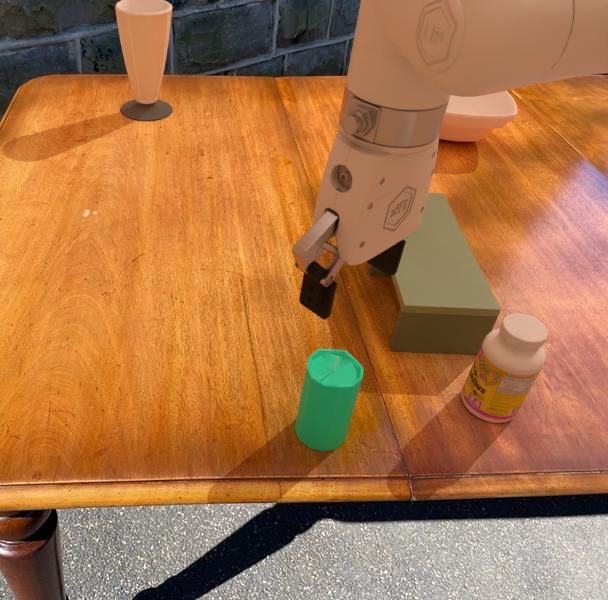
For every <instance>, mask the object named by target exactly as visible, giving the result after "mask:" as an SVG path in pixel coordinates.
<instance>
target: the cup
mask: <svg viewBox="0 0 608 600" xmlns="http://www.w3.org/2000/svg"><path fill="white" fill-rule="evenodd" d="M114 10H115V17H116V23H117V29H118V36H119V40H120V41H119V42H120V46H121V51H122V56H123V60H124V65H125V70H126V72H127V77H128V80H129V85H130V87H131V90H132V93H133V97H134V99H132V100H128V101H126V102H125V103H124V104H122V105H120V106H121V107H120V112H121V113H122V115H123V116H124V117H127V118H129V119H131V120H134V121H142V122H153V121H159V120H163V119H165V118H167V117H169V116H170V115H171V114H172V113H173V106H172V105H171V104H170V103H169V102H168V101H167V102H166V101H164V100H161V99H158V97H159V95H160V94H159V93H160V90H161V86H162V83H163V77H164V72H165V69H166V63H167V62H166V61H167V55H168V48H169V43H170V33H171V25H172V14H173V5H172V4H171V3H170V2H169V1H167V0H120V1H117V2H116V4H115V7H114Z"/></svg>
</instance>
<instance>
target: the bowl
mask: <svg viewBox="0 0 608 600" xmlns="http://www.w3.org/2000/svg"><path fill="white" fill-rule="evenodd" d="M518 112H519V109H518V106H517V102H516V101H515V98H514V97H513V96H512V95H511V93H510V91H502V92H497V93H493V94H488V95H482V96H475V97H460V96H454V95H451V96H450V99H449V103H448V106H447V109H446V113H445V116H444V119H443V123H442V126H441V129H440V133H439V140H444V141H452V142H466V143H467V142H480V141H481V140H482V139H483V138H484V137H486V136H487V135H488V134H489V133H490V132H492V131H493V130H494V129H495V130H496V129H502V128H504V127H505V126H507V124H509V123H510V122H511V121H513V120H514V119H515V118H516V117H517V115H518Z"/></svg>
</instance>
